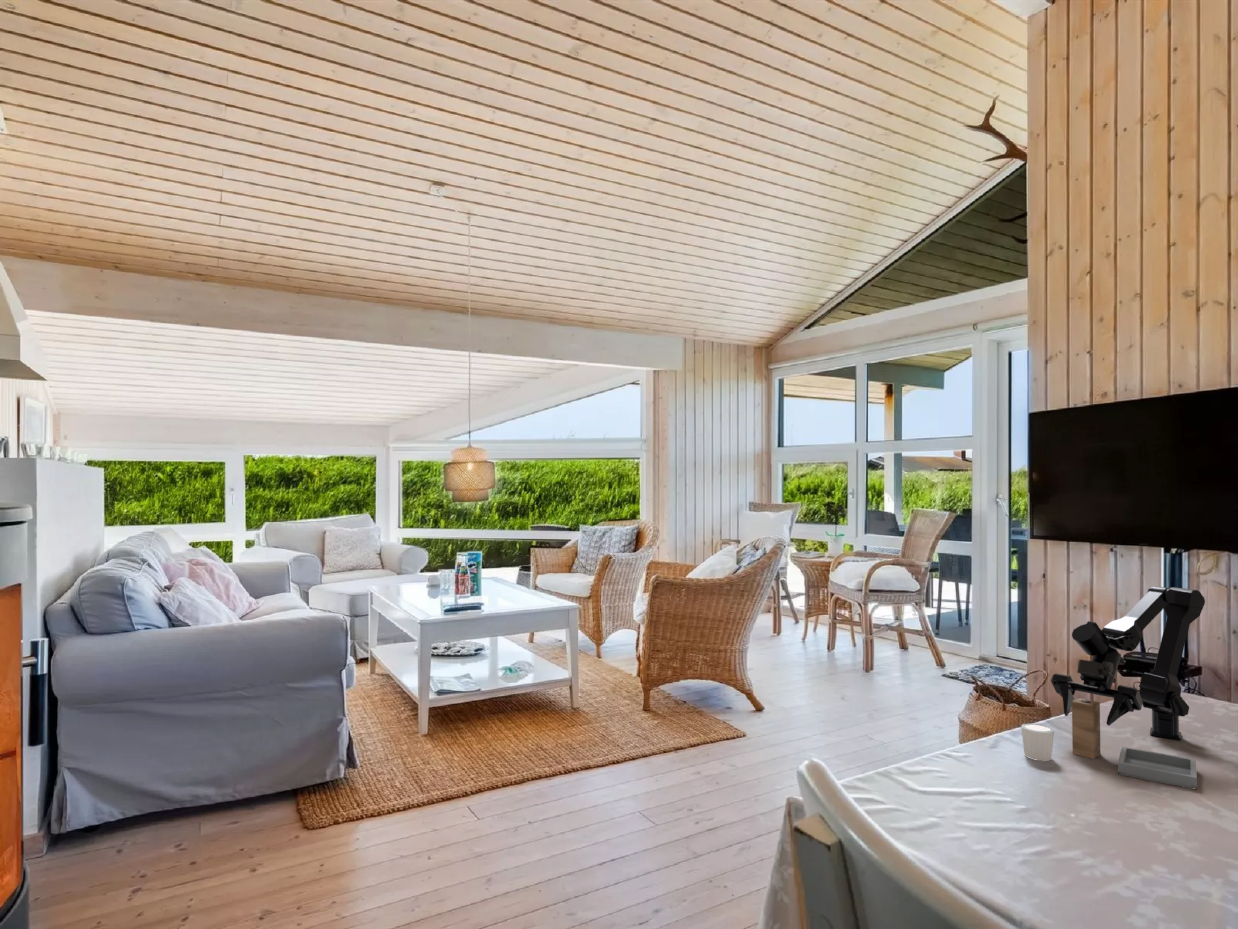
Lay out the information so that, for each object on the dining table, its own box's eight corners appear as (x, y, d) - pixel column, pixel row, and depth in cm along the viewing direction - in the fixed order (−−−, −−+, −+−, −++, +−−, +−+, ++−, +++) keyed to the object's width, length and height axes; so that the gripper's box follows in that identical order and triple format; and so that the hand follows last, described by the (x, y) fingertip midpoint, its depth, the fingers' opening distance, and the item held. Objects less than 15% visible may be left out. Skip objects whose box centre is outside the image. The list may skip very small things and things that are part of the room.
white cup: (1046, 752, 181) (1045, 723, 181) (1060, 763, 174) (1059, 732, 174) (1016, 751, 181) (1016, 722, 182) (1029, 761, 174) (1028, 731, 175)
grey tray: (1122, 756, 178) (1122, 746, 178) (1196, 770, 170) (1195, 759, 170) (1118, 774, 167) (1117, 762, 167) (1196, 789, 159) (1196, 777, 159)
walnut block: (1079, 749, 183) (1079, 697, 184) (1100, 754, 180) (1099, 701, 180) (1072, 753, 180) (1071, 700, 181) (1093, 758, 177) (1092, 704, 177)
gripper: (1053, 641, 192) (1035, 691, 185) (1138, 654, 177) (1121, 709, 170) (1065, 668, 197) (1048, 717, 189) (1149, 682, 182) (1134, 737, 175)
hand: (1086, 719), depth 181 cm, fingers open, 9 cm apart
